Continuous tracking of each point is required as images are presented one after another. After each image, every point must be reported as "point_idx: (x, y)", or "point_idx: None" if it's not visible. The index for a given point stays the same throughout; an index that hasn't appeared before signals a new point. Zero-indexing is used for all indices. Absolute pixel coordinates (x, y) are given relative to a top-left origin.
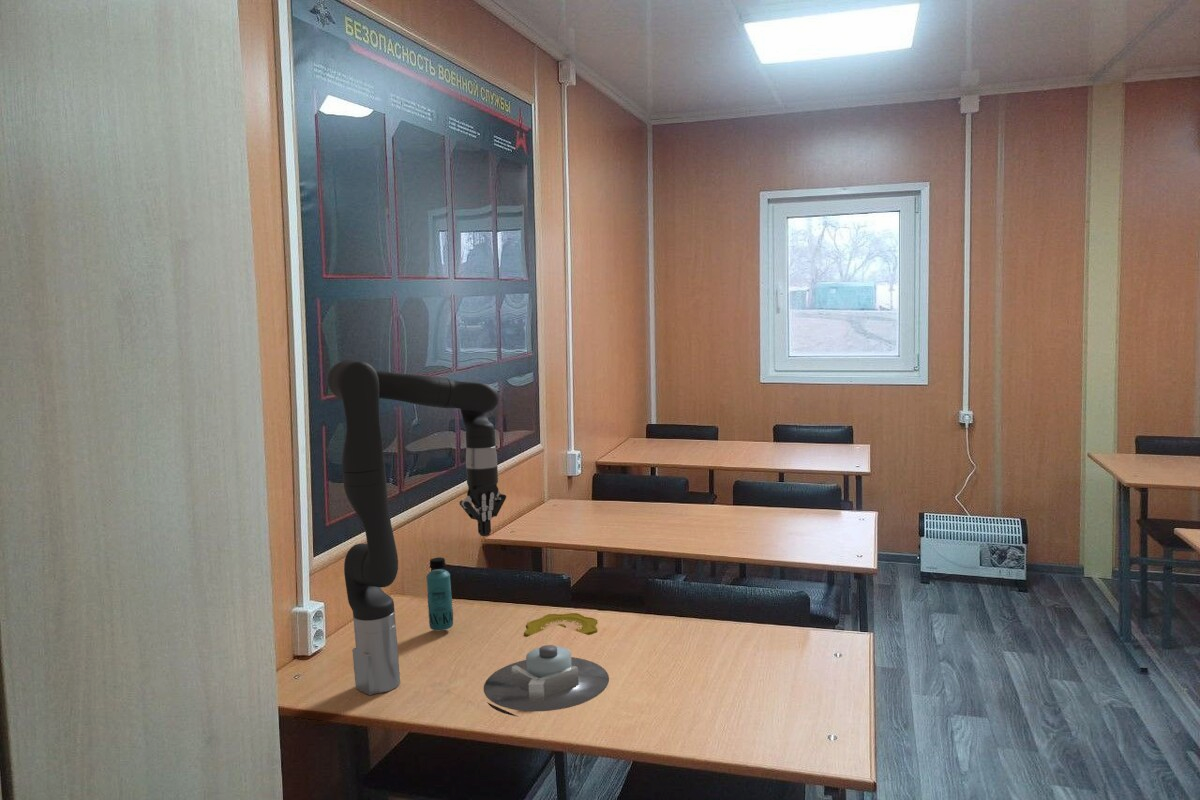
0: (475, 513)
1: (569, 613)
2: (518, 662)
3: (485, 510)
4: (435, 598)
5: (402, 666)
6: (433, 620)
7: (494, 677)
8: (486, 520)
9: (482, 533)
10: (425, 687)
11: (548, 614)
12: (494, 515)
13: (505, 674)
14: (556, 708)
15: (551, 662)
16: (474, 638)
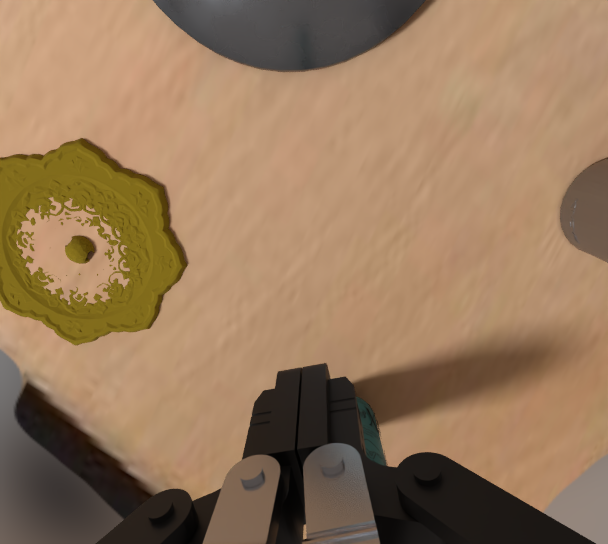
0: (491, 521)
1: (22, 315)
2: (291, 64)
3: (322, 542)
4: (378, 459)
5: (513, 278)
6: (375, 422)
7: (393, 9)
8: (289, 469)
9: (344, 381)
10: (535, 120)
11: (76, 342)
12: (181, 499)
13: (359, 7)
14: None
15: None
16: (299, 326)
